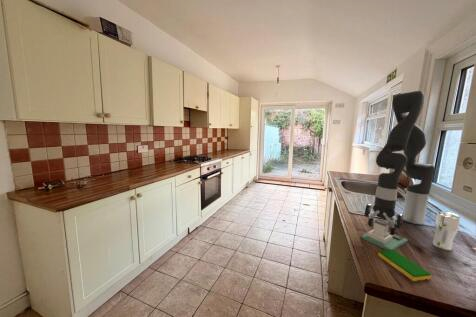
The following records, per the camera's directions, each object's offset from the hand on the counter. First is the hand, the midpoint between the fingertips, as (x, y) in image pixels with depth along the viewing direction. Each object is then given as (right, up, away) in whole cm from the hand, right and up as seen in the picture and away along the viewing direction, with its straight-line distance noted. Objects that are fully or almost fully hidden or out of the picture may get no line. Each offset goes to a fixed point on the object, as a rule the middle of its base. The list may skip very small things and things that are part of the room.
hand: (380, 230), depth 89 cm
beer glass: (+25, -6, -3) cm, 26 cm away
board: (+2, -5, +1) cm, 5 cm away
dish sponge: (-4, -8, -16) cm, 19 cm away
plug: (0, -4, +1) cm, 4 cm away
